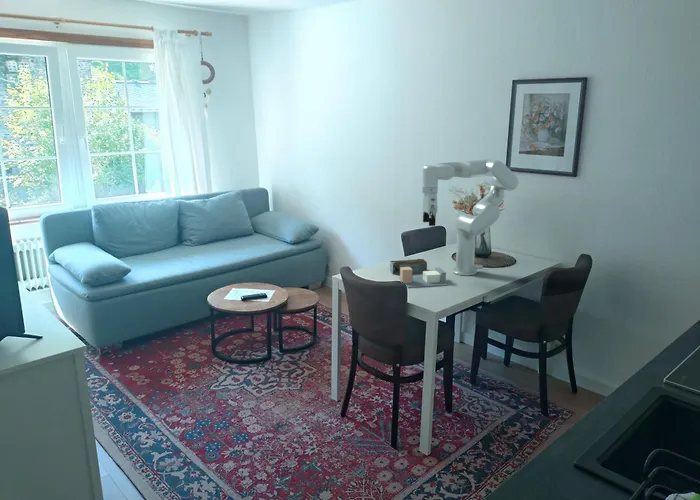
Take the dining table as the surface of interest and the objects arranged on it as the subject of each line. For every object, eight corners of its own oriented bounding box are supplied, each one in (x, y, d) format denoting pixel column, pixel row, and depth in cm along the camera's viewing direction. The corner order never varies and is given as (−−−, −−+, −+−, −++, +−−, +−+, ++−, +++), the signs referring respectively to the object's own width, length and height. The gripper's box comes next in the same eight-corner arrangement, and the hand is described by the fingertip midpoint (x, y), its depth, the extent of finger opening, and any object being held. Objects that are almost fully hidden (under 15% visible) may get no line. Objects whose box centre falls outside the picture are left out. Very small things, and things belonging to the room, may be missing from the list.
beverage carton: (389, 270, 290) (389, 259, 289) (423, 269, 293) (423, 257, 291) (392, 275, 282) (392, 263, 281) (427, 273, 285) (428, 261, 284)
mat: (436, 276, 279) (436, 275, 279) (447, 285, 264) (447, 284, 263) (399, 278, 276) (399, 277, 275) (408, 288, 260) (408, 286, 260)
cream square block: (439, 277, 275) (439, 267, 274) (445, 282, 267) (445, 272, 266) (422, 278, 274) (422, 268, 273) (427, 283, 265) (427, 273, 264)
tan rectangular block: (409, 279, 271) (409, 266, 269) (412, 282, 266) (412, 269, 264) (399, 280, 270) (400, 267, 268) (402, 283, 265) (402, 270, 263)
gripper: (442, 192, 259) (441, 226, 263) (431, 187, 276) (430, 220, 280) (428, 193, 258) (427, 227, 262) (417, 188, 275) (416, 220, 279)
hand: (429, 223), depth 271 cm, fingers open, 9 cm apart
